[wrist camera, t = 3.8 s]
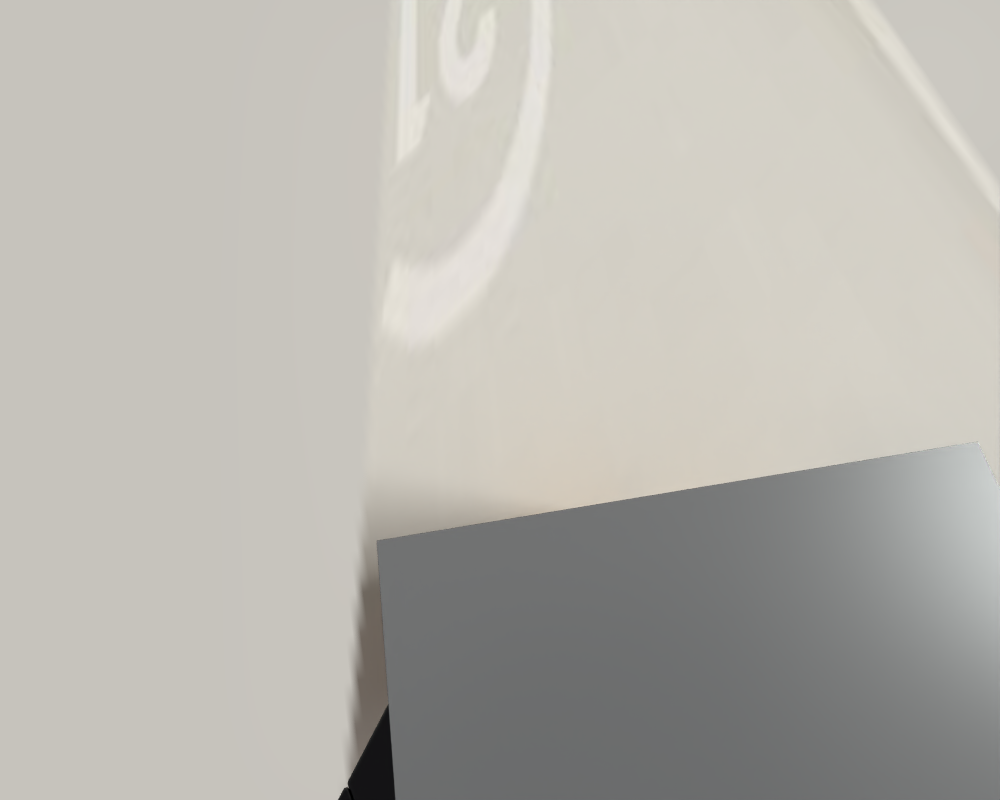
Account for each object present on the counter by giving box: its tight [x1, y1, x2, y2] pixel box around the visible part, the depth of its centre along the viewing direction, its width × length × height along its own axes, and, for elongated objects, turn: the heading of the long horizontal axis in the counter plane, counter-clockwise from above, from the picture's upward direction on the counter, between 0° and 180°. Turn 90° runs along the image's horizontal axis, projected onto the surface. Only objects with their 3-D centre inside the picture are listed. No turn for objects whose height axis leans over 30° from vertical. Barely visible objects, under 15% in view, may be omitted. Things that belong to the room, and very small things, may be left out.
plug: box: [377, 442, 1000, 800], centre depth 9 cm, size 4×4×12 cm
